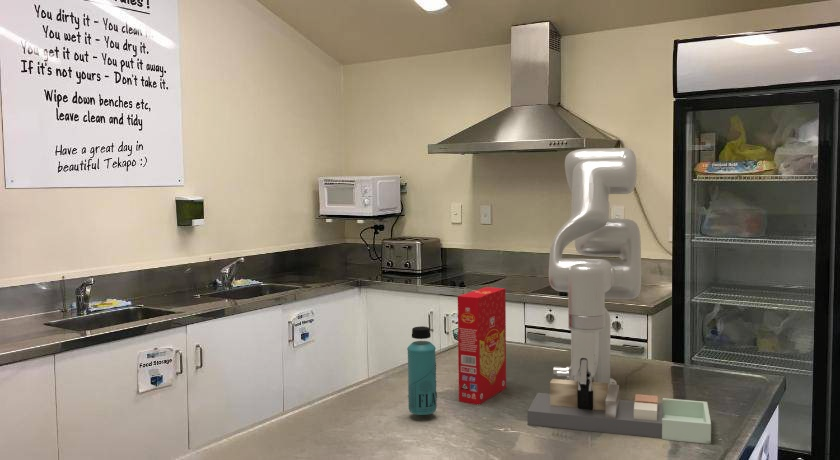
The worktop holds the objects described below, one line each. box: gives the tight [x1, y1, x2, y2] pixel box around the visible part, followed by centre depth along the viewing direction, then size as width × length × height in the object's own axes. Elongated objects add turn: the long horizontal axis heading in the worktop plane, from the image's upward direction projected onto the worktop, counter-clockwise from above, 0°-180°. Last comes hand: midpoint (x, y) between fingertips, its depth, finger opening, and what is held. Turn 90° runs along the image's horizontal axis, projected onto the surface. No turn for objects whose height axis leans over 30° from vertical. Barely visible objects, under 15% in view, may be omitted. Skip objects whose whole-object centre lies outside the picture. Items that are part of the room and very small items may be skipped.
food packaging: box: [457, 286, 507, 406], centre depth 170 cm, size 15×5×25 cm, turn 148°
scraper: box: [549, 378, 620, 418], centre depth 152 cm, size 14×12×5 cm
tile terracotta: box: [634, 393, 659, 404], centre depth 151 cm, size 4×4×2 cm
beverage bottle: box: [406, 325, 438, 416], centre depth 155 cm, size 6×7×20 cm
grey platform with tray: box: [526, 392, 712, 445], centre depth 150 cm, size 36×14×4 cm, turn 71°
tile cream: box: [634, 402, 657, 421], centre depth 145 cm, size 4×4×2 cm
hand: (586, 405), depth 152 cm, fingers closed on scraper, 3 cm apart
